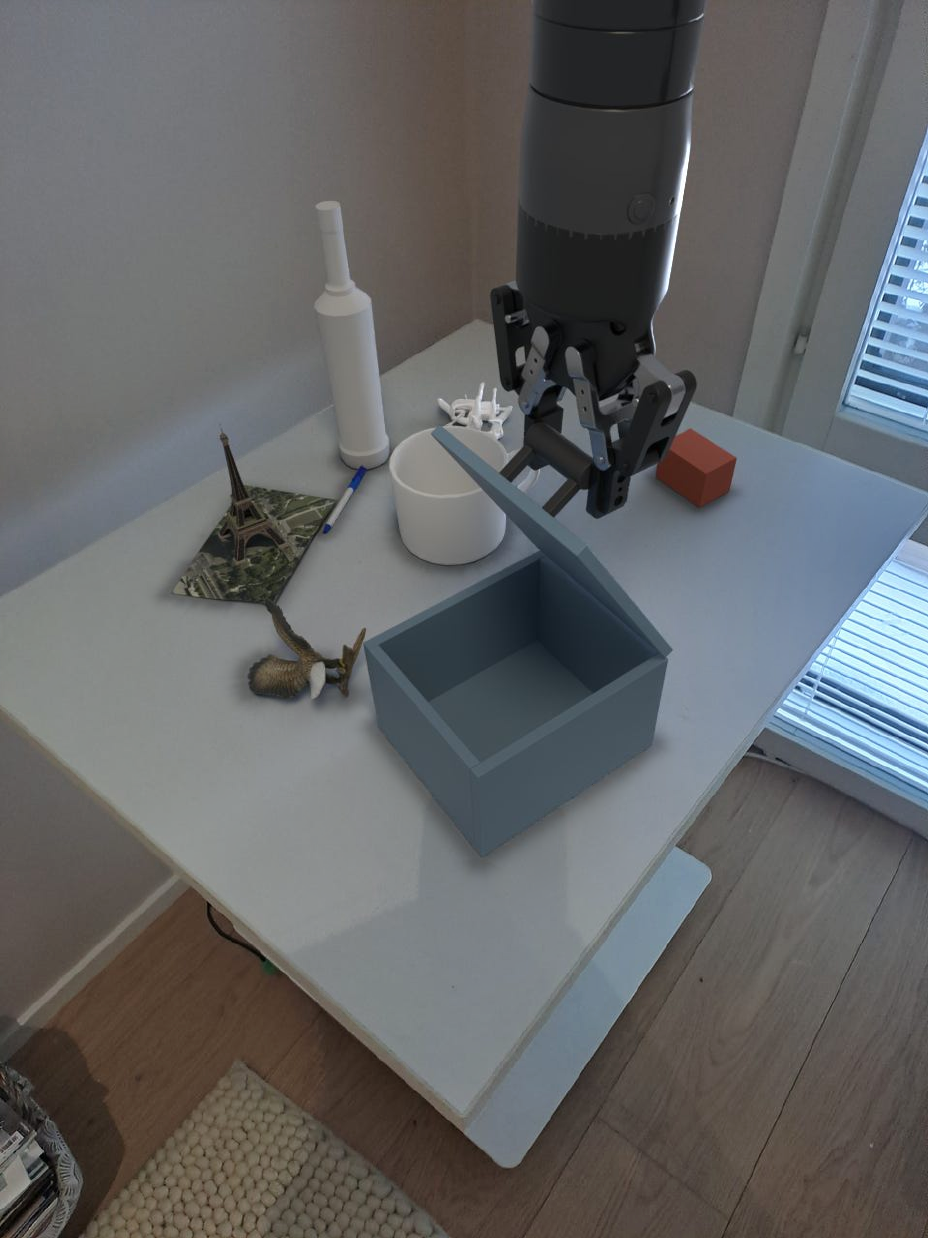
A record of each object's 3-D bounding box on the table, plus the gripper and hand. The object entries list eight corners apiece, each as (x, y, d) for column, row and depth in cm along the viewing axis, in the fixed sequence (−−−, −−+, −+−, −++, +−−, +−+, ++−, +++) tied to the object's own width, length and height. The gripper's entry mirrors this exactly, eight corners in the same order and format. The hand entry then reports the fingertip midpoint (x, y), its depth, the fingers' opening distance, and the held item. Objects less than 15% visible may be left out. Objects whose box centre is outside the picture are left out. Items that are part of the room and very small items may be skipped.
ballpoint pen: (360, 467, 92) (359, 459, 91) (369, 468, 91) (367, 460, 91) (322, 534, 85) (320, 526, 84) (331, 535, 85) (329, 527, 84)
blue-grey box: (481, 858, 61) (477, 778, 54) (378, 727, 69) (362, 642, 62) (652, 744, 67) (668, 658, 60) (538, 636, 75) (541, 548, 67)
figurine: (511, 450, 93) (434, 448, 93) (511, 406, 98) (438, 403, 98) (512, 426, 91) (433, 423, 91) (512, 382, 96) (437, 379, 96)
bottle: (347, 440, 95) (306, 193, 77) (395, 442, 94) (364, 193, 76) (335, 469, 91) (289, 217, 73) (385, 472, 90) (350, 217, 73)
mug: (403, 576, 80) (394, 505, 74) (391, 502, 87) (383, 432, 81) (550, 556, 81) (553, 485, 75) (527, 484, 88) (528, 414, 82)
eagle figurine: (375, 635, 74) (274, 601, 75) (361, 622, 67) (249, 584, 68) (343, 723, 73) (241, 687, 74) (325, 720, 66) (213, 680, 67)
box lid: (576, 556, 46) (643, 483, 46) (429, 433, 54) (486, 370, 53) (665, 658, 59) (718, 603, 59) (537, 548, 67) (583, 498, 67)
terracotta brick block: (729, 491, 86) (737, 457, 83) (699, 507, 85) (706, 473, 82) (685, 461, 90) (690, 427, 87) (655, 476, 88) (660, 443, 85)
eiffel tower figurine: (276, 611, 78) (241, 489, 68) (171, 593, 80) (123, 472, 70) (337, 502, 88) (314, 383, 78) (242, 489, 90) (208, 370, 80)
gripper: (775, 224, 39) (703, 525, 51) (563, 132, 47) (545, 411, 59) (648, 271, 36) (603, 579, 48) (445, 164, 44) (451, 451, 56)
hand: (571, 485), depth 54 cm, fingers closed on box lid, 5 cm apart
